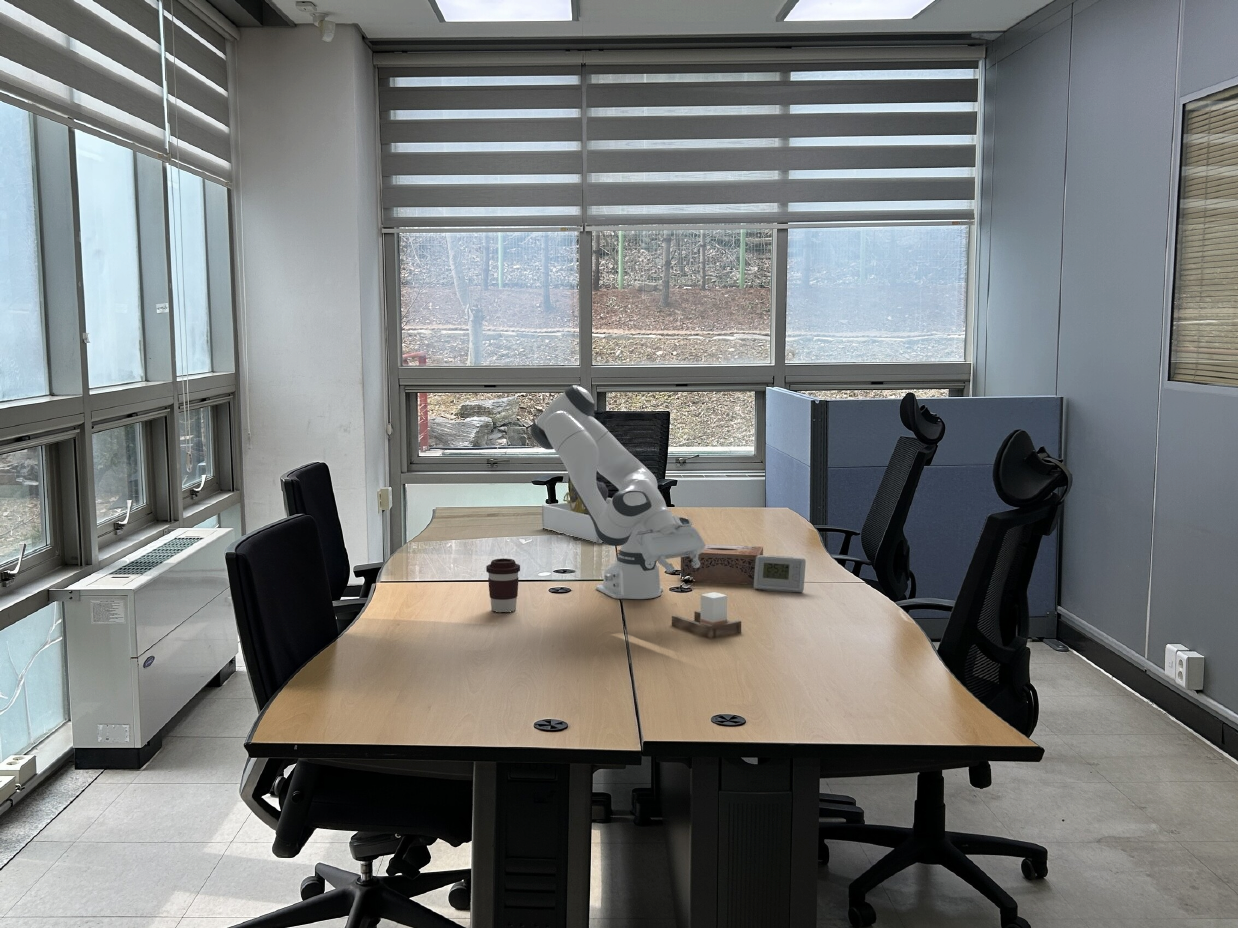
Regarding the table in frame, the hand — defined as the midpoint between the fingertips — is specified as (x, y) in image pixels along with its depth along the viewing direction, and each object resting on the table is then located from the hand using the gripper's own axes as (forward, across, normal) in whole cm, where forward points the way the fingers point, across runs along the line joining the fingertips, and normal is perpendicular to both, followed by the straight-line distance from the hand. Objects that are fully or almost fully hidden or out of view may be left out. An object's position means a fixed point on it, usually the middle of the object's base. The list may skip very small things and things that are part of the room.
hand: (684, 568), depth 300 cm
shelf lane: (+18, 0, +6) cm, 19 cm away
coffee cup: (-20, -31, +44) cm, 58 cm away
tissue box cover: (-16, +50, +40) cm, 66 cm away
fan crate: (-82, +68, +106) cm, 150 cm away
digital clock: (+1, +53, +23) cm, 58 cm away
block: (+19, 0, +2) cm, 19 cm away
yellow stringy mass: (-81, +69, +105) cm, 150 cm away
